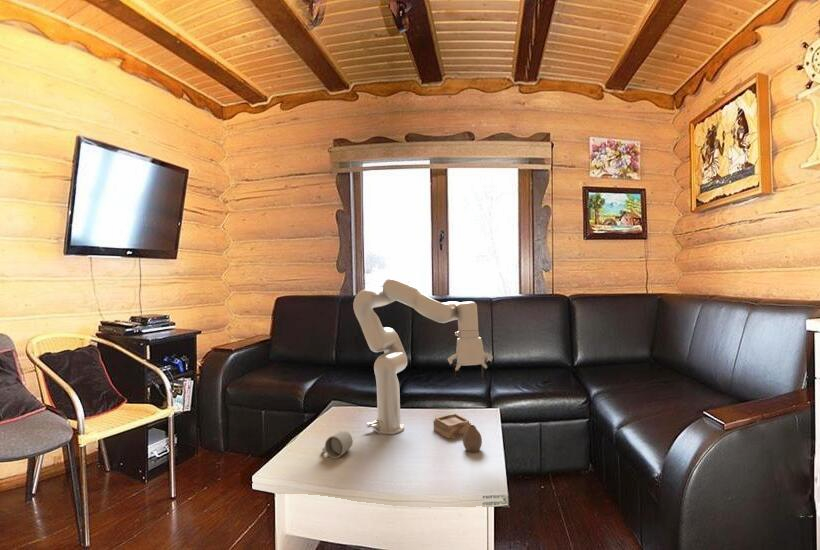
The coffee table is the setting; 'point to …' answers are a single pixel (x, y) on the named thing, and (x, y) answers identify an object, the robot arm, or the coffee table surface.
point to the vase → (472, 439)
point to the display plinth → (451, 425)
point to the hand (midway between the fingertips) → (471, 379)
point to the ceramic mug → (338, 444)
